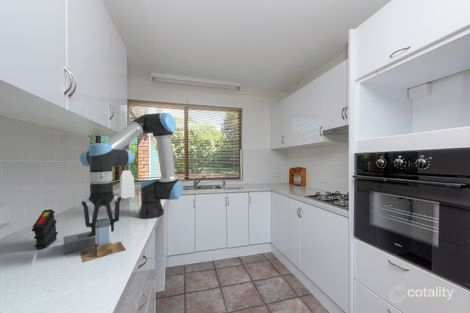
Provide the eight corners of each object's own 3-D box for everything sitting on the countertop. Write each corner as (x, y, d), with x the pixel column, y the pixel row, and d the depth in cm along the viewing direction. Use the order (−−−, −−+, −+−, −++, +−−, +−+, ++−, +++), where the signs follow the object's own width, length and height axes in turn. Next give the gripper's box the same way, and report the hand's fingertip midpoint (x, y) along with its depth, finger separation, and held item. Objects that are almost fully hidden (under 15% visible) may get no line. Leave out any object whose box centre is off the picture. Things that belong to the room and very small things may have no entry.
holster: (120, 243, 90) (120, 233, 90) (126, 252, 81) (126, 241, 81) (80, 254, 81) (80, 242, 81) (82, 265, 72) (82, 252, 72)
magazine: (60, 233, 100) (53, 208, 94) (49, 256, 89) (40, 229, 83) (50, 234, 99) (43, 209, 93) (38, 257, 87) (28, 231, 81)
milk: (132, 195, 209) (131, 169, 209) (135, 197, 200) (134, 170, 200) (119, 197, 202) (118, 170, 201) (121, 198, 192) (120, 171, 192)
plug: (107, 247, 84) (106, 218, 84) (109, 251, 80) (109, 220, 80) (97, 249, 82) (96, 219, 82) (99, 254, 78) (98, 222, 78)
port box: (103, 239, 95) (102, 228, 95) (106, 246, 88) (106, 234, 88) (63, 248, 86) (63, 236, 86) (63, 257, 79) (63, 243, 79)
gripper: (75, 185, 73) (77, 251, 73) (127, 181, 84) (128, 238, 84) (74, 183, 79) (76, 245, 79) (123, 179, 89) (124, 233, 89)
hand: (103, 241), depth 81 cm, fingers closed on plug, 4 cm apart
